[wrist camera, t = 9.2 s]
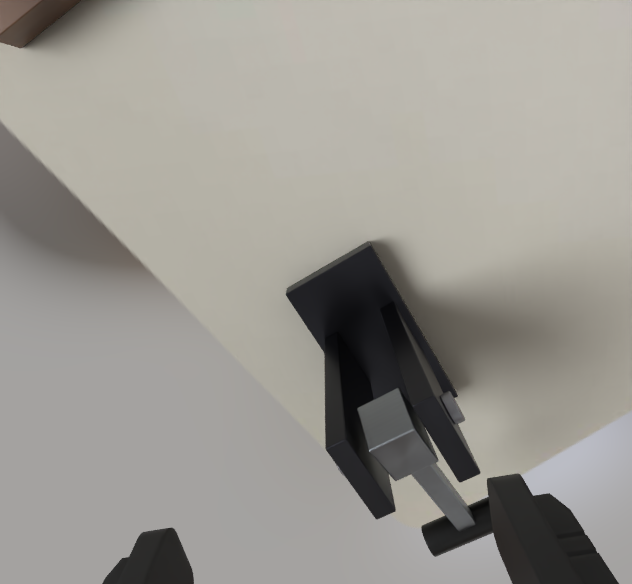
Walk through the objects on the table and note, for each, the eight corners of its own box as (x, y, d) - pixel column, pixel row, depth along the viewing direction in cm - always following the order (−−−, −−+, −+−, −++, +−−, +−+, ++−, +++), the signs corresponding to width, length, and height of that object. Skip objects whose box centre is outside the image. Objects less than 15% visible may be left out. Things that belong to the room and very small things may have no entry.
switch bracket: (453, 386, 31) (528, 529, 20) (376, 424, 32) (406, 579, 21) (368, 240, 27) (400, 311, 16) (286, 288, 28) (263, 385, 17)
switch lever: (502, 493, 26) (523, 533, 24) (426, 526, 27) (441, 568, 25) (426, 372, 20) (446, 413, 18) (330, 421, 21) (339, 465, 19)
